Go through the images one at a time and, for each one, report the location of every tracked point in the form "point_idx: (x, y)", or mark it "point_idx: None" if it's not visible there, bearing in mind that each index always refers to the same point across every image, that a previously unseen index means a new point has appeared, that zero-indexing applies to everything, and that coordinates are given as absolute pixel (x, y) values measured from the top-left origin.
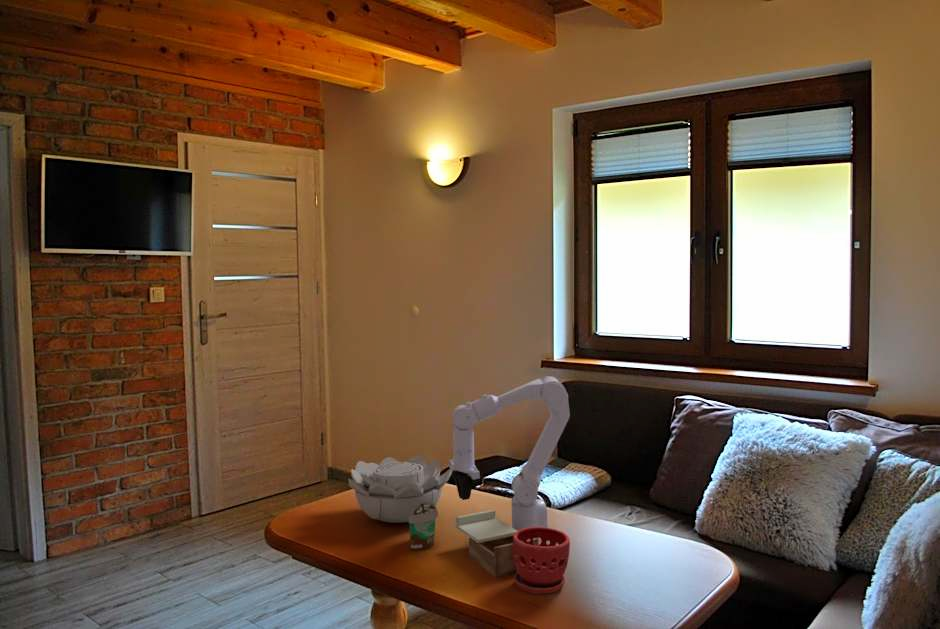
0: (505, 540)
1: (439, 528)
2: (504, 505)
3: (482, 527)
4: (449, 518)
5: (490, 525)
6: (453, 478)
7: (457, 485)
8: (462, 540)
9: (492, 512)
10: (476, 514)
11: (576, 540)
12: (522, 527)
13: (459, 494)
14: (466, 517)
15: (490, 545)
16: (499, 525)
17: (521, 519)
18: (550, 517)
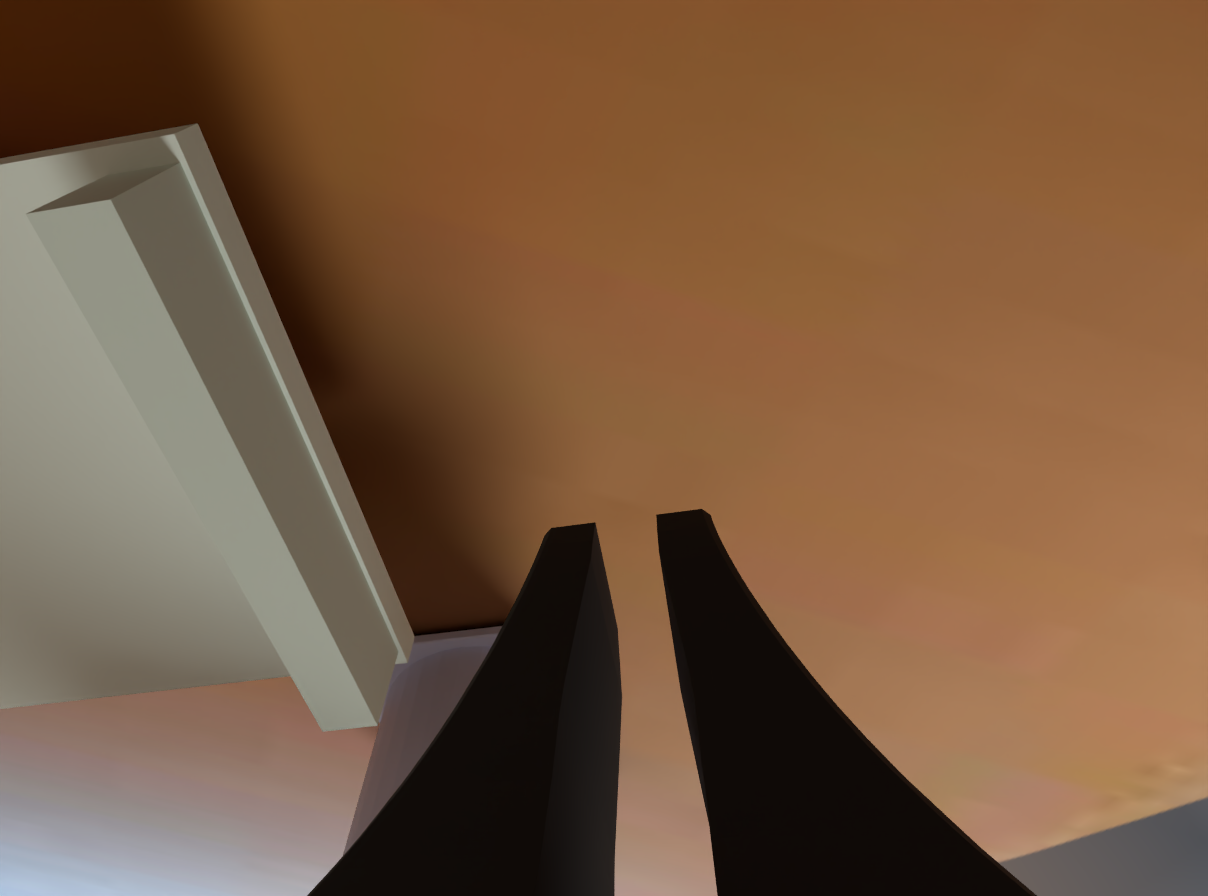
0: None
1: (980, 61)
2: (1115, 752)
3: (20, 462)
4: (1197, 283)
5: (96, 558)
6: (994, 860)
7: (715, 713)
8: (486, 216)
9: (310, 695)
10: (210, 524)
11: (297, 862)
12: (378, 740)
13: (664, 557)
14: (120, 360)
15: None
16: (94, 632)
17: (363, 801)
18: None
